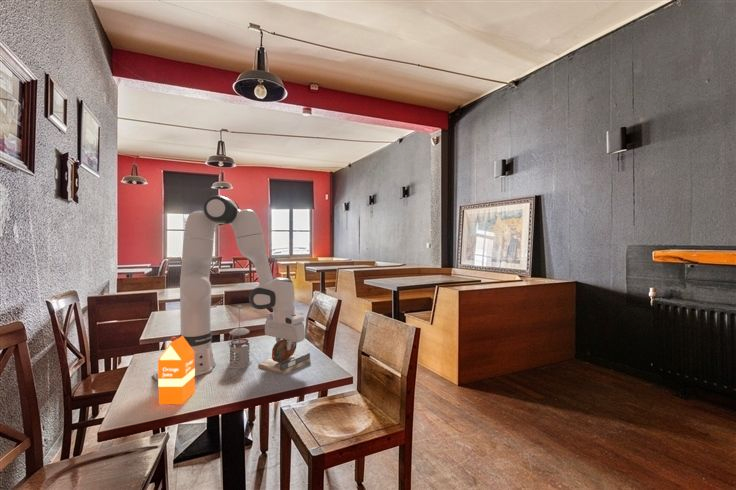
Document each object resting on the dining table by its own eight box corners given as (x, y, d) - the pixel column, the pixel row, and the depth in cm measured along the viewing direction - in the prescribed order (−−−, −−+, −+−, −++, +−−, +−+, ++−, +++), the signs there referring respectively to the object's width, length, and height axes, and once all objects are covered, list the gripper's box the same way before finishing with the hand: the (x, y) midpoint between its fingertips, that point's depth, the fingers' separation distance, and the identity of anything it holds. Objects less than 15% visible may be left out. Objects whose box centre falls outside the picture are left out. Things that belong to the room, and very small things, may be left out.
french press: (235, 370, 142) (235, 308, 141) (220, 363, 149) (219, 304, 148) (256, 363, 149) (256, 304, 148) (241, 357, 156) (240, 301, 155)
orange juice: (195, 392, 123) (194, 335, 122) (182, 404, 114) (181, 343, 113) (172, 392, 122) (171, 335, 121) (158, 405, 113) (156, 343, 113)
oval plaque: (275, 365, 142) (277, 345, 141) (269, 363, 143) (271, 343, 142) (296, 353, 156) (298, 334, 155) (290, 351, 157) (292, 333, 156)
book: (282, 374, 138) (282, 370, 138) (258, 367, 145) (258, 363, 145) (310, 361, 151) (310, 358, 151) (286, 355, 159) (286, 352, 159)
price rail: (282, 370, 138) (282, 364, 138) (280, 370, 138) (280, 364, 138) (310, 358, 151) (310, 352, 151) (307, 357, 152) (307, 352, 152)
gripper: (261, 314, 151) (261, 346, 151) (296, 321, 140) (296, 355, 140) (272, 311, 156) (272, 342, 157) (307, 317, 145) (307, 351, 146)
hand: (284, 348), depth 148 cm, fingers closed on oval plaque, 3 cm apart
